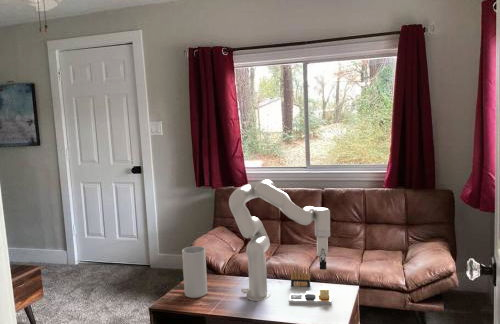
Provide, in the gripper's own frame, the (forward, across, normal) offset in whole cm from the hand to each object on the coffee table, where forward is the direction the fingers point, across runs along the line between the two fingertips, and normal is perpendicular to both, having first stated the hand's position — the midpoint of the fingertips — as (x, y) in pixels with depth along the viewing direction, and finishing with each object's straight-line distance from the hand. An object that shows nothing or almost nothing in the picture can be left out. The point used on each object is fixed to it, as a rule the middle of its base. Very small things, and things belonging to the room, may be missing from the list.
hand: (322, 265), depth 216 cm
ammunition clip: (+20, -19, -12) cm, 30 cm away
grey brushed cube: (+19, 0, -6) cm, 20 cm away
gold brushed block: (+19, 0, +1) cm, 19 cm away
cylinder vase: (+21, -8, -69) cm, 72 cm away
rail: (+20, 0, -6) cm, 21 cm away
